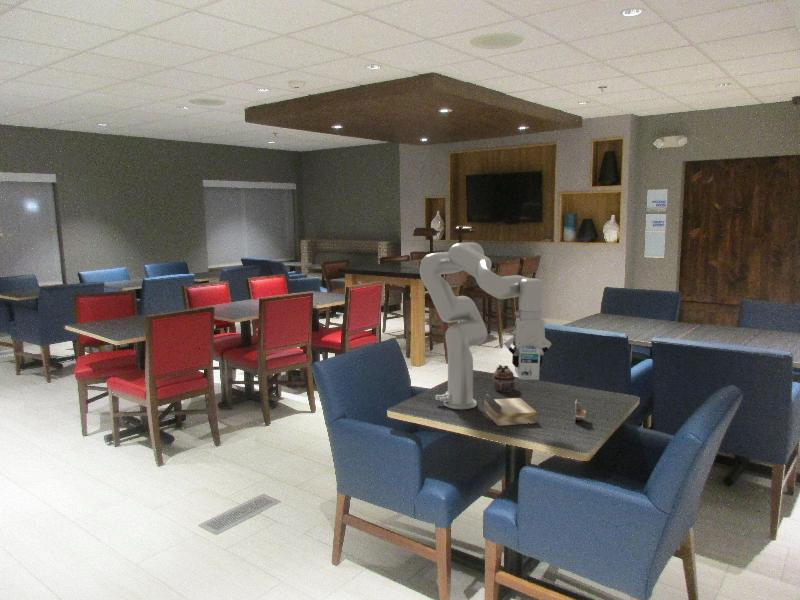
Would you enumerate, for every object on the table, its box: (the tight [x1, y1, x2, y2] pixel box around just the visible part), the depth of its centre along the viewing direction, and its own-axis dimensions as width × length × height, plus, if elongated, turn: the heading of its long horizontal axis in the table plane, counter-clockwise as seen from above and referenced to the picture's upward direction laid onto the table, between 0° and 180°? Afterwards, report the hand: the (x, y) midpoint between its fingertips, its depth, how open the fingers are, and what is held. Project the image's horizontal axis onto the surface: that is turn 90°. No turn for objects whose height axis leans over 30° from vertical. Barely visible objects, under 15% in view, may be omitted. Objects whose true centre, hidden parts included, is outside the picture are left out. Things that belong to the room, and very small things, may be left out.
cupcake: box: [491, 364, 517, 393], centre depth 243 cm, size 10×10×10 cm
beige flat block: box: [483, 393, 538, 426], centre depth 211 cm, size 14×16×6 cm
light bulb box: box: [514, 347, 541, 381], centre depth 199 cm, size 11×7×11 cm, turn 178°
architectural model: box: [573, 399, 587, 424], centre depth 205 cm, size 3×7×7 cm, turn 160°
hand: (526, 365), depth 200 cm, fingers closed on light bulb box, 7 cm apart
